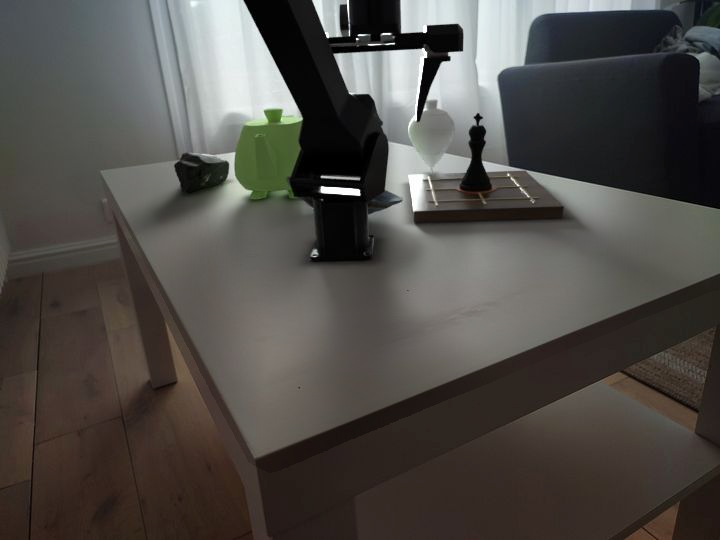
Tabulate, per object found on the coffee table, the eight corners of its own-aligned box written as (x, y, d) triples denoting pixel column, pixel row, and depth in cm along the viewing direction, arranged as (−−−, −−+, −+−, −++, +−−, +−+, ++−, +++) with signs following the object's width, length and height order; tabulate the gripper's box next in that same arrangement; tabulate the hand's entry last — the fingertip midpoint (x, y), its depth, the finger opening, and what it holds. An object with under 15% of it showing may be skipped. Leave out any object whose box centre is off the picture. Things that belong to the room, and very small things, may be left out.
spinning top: (463, 173, 88) (465, 98, 84) (425, 180, 85) (425, 103, 80) (436, 166, 95) (436, 96, 90) (400, 172, 91) (398, 100, 87)
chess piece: (476, 182, 76) (478, 110, 72) (498, 187, 72) (502, 112, 69) (452, 187, 74) (453, 113, 70) (474, 193, 70) (477, 115, 66)
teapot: (312, 208, 73) (303, 115, 68) (219, 210, 75) (204, 119, 70) (333, 176, 92) (327, 100, 87) (258, 178, 93) (248, 103, 88)
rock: (162, 186, 90) (155, 152, 88) (207, 176, 96) (202, 144, 94) (192, 196, 84) (186, 160, 81) (239, 184, 89) (234, 150, 87)
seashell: (276, 236, 63) (272, 195, 61) (292, 207, 75) (288, 171, 73) (404, 231, 63) (404, 189, 61) (400, 202, 74) (399, 166, 72)
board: (562, 218, 64) (564, 205, 63) (413, 222, 65) (413, 210, 65) (524, 179, 82) (525, 169, 82) (408, 184, 84) (408, 174, 83)
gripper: (453, -25, 63) (451, 112, 69) (298, -15, 64) (309, 118, 70) (465, -39, 52) (462, 123, 58) (280, -27, 54) (295, 130, 60)
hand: (378, 123), depth 62 cm, fingers open, 9 cm apart
